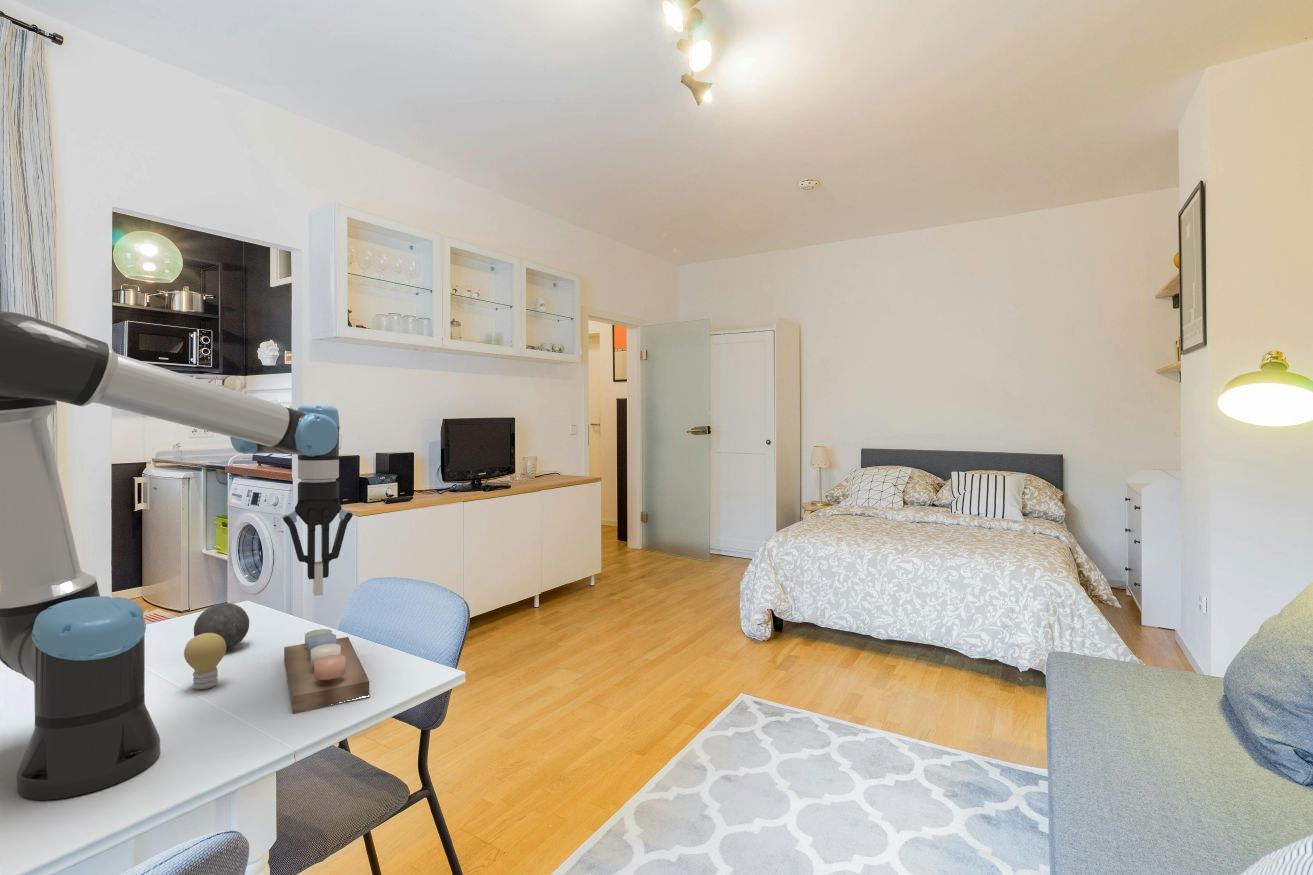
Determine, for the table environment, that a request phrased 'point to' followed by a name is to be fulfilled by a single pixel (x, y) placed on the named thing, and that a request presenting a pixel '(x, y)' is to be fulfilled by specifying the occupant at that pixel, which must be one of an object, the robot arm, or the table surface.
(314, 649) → the cream button
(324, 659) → the terracotta button
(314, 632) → the sage button
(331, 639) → the slate button
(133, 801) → the table surface
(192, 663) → the light bulb
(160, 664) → the table surface
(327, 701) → the button board
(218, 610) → the decorative ball
